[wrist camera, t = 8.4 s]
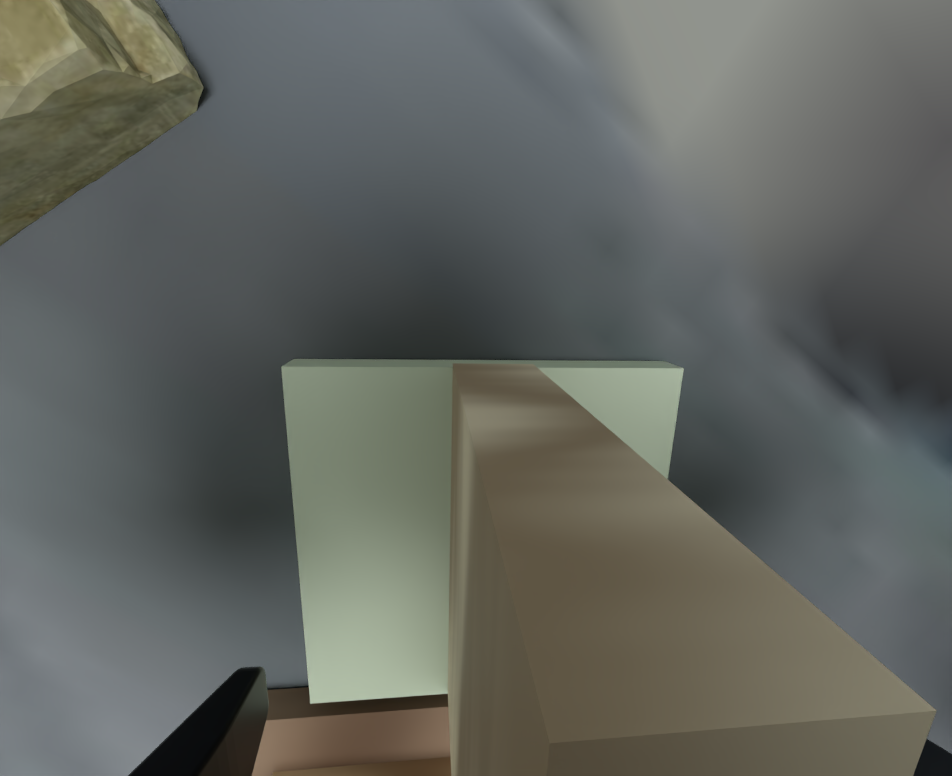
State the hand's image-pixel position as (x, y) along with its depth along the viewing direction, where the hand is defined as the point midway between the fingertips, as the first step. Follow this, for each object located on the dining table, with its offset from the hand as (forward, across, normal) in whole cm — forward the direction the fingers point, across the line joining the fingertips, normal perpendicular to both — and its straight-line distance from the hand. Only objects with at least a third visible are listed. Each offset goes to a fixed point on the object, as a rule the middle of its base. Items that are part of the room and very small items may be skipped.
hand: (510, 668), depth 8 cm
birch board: (+4, 0, 0) cm, 4 cm away
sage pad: (+5, 0, 0) cm, 5 cm away
